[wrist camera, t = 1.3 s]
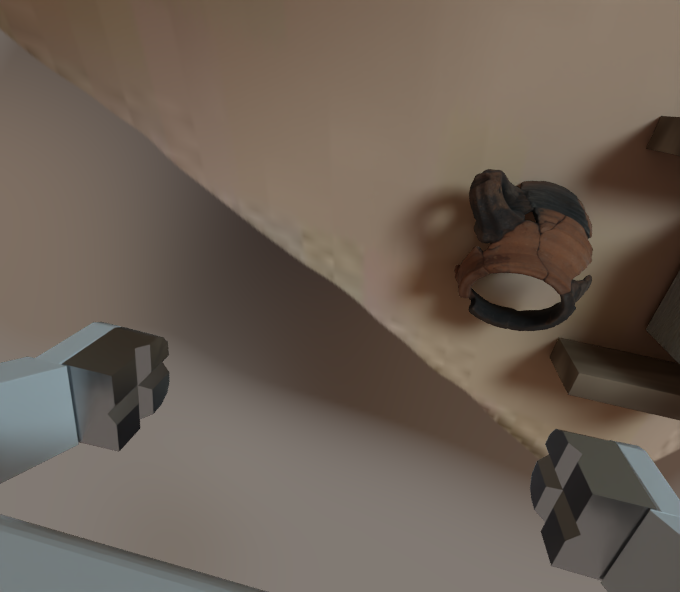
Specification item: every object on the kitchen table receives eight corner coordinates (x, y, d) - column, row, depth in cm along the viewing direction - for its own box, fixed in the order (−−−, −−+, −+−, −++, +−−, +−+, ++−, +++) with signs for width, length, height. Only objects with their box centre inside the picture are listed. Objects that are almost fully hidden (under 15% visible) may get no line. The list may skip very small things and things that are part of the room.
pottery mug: (616, 239, 30) (617, 330, 26) (497, 270, 37) (481, 345, 33) (545, 109, 25) (531, 195, 21) (421, 172, 32) (391, 247, 28)
